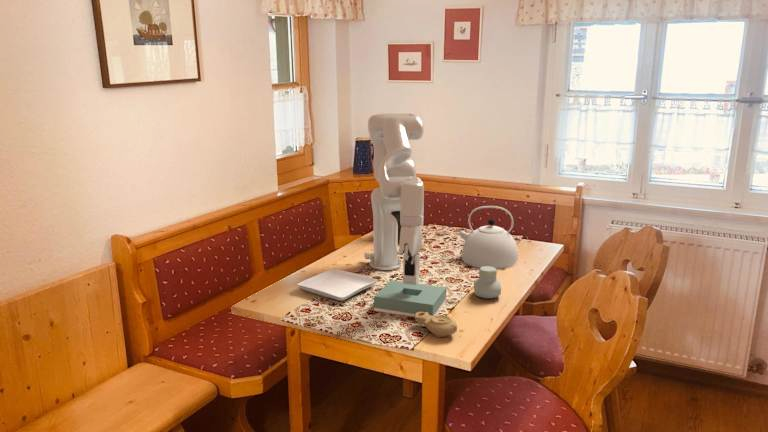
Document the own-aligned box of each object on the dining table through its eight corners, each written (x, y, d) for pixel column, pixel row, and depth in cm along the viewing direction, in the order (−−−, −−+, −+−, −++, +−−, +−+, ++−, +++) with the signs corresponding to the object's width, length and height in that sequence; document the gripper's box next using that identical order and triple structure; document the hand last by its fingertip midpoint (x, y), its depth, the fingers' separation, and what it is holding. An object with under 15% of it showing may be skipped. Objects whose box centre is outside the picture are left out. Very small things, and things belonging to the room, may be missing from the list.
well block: (374, 310, 205) (374, 296, 204) (390, 293, 220) (390, 280, 219) (432, 319, 199) (433, 304, 197) (445, 301, 213) (446, 287, 212)
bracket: (403, 283, 206) (403, 254, 204) (406, 280, 209) (406, 251, 207) (416, 285, 205) (416, 256, 202) (418, 282, 208) (419, 253, 205)
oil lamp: (416, 321, 197) (416, 306, 196) (461, 327, 193) (462, 312, 192) (407, 335, 188) (407, 320, 186) (454, 342, 183) (454, 326, 182)
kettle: (454, 266, 248) (455, 211, 242) (458, 249, 269) (459, 198, 263) (518, 270, 243) (521, 214, 237) (517, 252, 265) (520, 200, 259)
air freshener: (472, 289, 223) (473, 263, 221) (496, 289, 223) (497, 263, 221) (477, 301, 213) (478, 274, 210) (501, 301, 213) (502, 274, 210)
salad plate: (379, 287, 226) (379, 278, 226) (342, 306, 210) (342, 297, 209) (333, 275, 238) (333, 267, 237) (295, 293, 221) (295, 283, 220)
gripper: (408, 212, 210) (408, 264, 215) (392, 224, 195) (392, 280, 200) (430, 214, 208) (429, 267, 212) (415, 227, 193) (414, 283, 197)
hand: (411, 273), depth 206 cm, fingers closed on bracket, 3 cm apart
